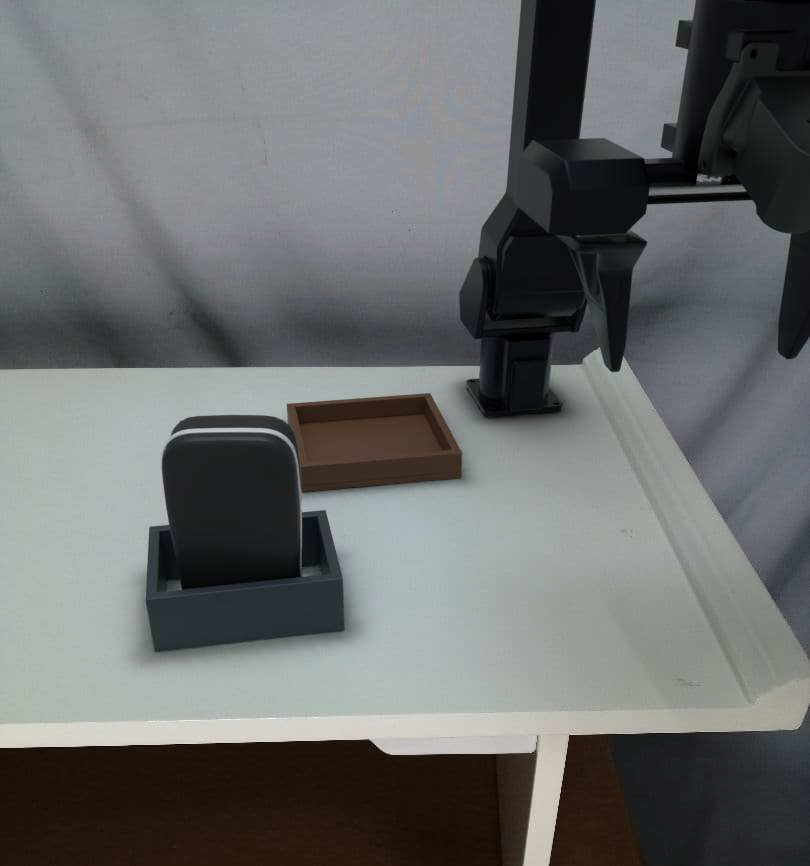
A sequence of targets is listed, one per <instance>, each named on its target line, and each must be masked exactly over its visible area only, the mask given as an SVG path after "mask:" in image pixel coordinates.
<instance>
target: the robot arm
mask: <svg viewBox="0 0 810 866" xmlns="http://www.w3.org/2000/svg"><path fill="white" fill-rule="evenodd" d="M596 4H597V0H520V12H519V25H518V36H517V38H518V39H517V48H516V49H517V51H516V63H515V64H516V65H515V76H514V87H513V89H514V90H513V100H512V101H513V102H512V113H511V125H510V126H511V127H510V138H509V151H508V152H509V153H508V165H507V175H506V176H507V177H506V188H505V193H504V194H503V196H502V197H501V199H500V200H499V202H498V203H497V205H496V206H495V208H494V209H493V211H492V212H490V215H489V216H488V217H487V219H486V220H485V222H484V223H483V224H482V226H481V229H480V237H479V245H478V252H477V253H478V254H477V257H474V259H473V260H472V263H471V265H470V267H469V269H468V272H467V274H466V275H465V278H464V281H463V283H462V285H461V288H460V290H459V293H458V299H459V301H458V302H459V303H458V304H459V320H460V321H461V323H462V324H463V326H464V327H465V328H466V330H467V331H468V332H469V333H468V334H470V335H471V337H472V338H473V339H474V340H480V355H479V356H480V357H479V373H478V378H468V379H466V381H465V387H466V388H467V390H468V392H469V393H470V395H471V396H472V398H473V400H474V401H475V403H476V405H477V407H478V408H479V410H480V411H481V413H482V415H484V416H485V417H499V416H513V415H525V414H539V413H550V412H551V413H552V412H560V411H562V410H563V405H564V404H563V402H562V401H561V400H560V398H558V396H557V395H556V393H555V392H554V391H553V389H551V387H550V382H551V371H552V361H553V353H554V343H555V342H554V341H555V334H560V333H571V334H577V333H579V332H580V329H581V325H582V323H583V320H584V316H585V313H586V310H587V306H588V309H589V313H590V318H591V320H592V324H593V327H594V331H595V334H596V339H597V342H598V346H599V351H600V354H601V357H602V360H603V365H604V366H605V367H606V368H607V369H608V370H609V372H610V373H619V372H620V371H621V368H622V365H623V360H624V355H625V351H626V347H627V337H628V326H629V317H630V316H629V315H630V303H631V293H632V284H633V283H632V282H633V273H634V269H635V266H636V264H637V263H638V261H639V259H640V258H641V256H642V254H643V252H644V251H645V249H646V247H647V245H648V241H647V240H646V239H644V238H643V237H641V236H640V235H639V234H637V233H636V232H634V231H633V230H632V228H633V227H634V226H635V225H636V224H637V223H638V222H639V221H640V220H642V218H643V217H644V216H645V215H646V214H647V208H648V206H649V205H671V204H674V205H675V204H694V203H695V204H697V203H718V202H719V203H720V202H742V201H752V202H753V204H754V205H755V212H756V215H757V217H758V218H759V219H760V221H761V222H762V223H763V224H764V225H765V226H767V227H768V228H769V229H771V230H773V231H776V232H779V233H782V234H788V235H789V234H790V239H789V247H788V253H787V261H786V266H785V267H786V268H785V273H784V274H785V275H784V279H783V280H784V281H783V287H782V295H781V302H780V309H779V315H778V326H777V327H778V328H777V354H779V355H780V356H781V357H783V358H784V359H785V360H794V359H796V358H797V357H798V355H799V354H800V352H801V351H802V349H804V347H805V345H806V344H807V342H808V341H809V339H810V0H695V2H694V10H693V16H692V19H679V20H678V23H677V24H678V25H677V31H676V38H675V45H674V46H675V47H676V48H680V49H685V50H687V55H686V62H685V68H684V74H683V81H682V87H681V94H680V101H679V105H678V107H679V108H678V115H677V119H676V120H677V121H676V122H668V123H667V122H666V123H665V122H664V123H663V127H662V133H661V134H662V135H661V141H660V148H661V149H664V150H665V151H668V152H670V153H671V157H657V158H656V157H655V158H654V157H653V158H644V157H642V156H641V155H638V154H637V153H635V152H633V151H631V150H629V149H627V148H625V147H623V146H621V145H619V144H617V143H615V142H613V141H611V140H609V139H608V138H605V137H596V138H595V137H594V138H593V137H592V138H581V130H582V123H583V122H582V121H583V114H584V105H585V97H586V88H587V82H588V81H587V80H588V72H589V65H590V64H589V63H590V55H591V46H592V39H593V29H594V21H595V15H596V14H595V13H596ZM698 177H700V178H703V180H702V181H700V180H698ZM711 178H712V179H711ZM719 178H720V179H719ZM706 179H707V180H706ZM710 179H711V180H710ZM717 179H719V180H717Z"/></svg>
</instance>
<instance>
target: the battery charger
mask: <svg viewBox="0 0 810 866" xmlns="http://www.w3.org/2000/svg"><path fill="white" fill-rule="evenodd" d="M160 467H161V477H162V488H163V494H164V499H165V500H164V501H165V509H166V514H167V521H168V525H169V526H170V531H171V536H172V541H173V546H174V551H175V555H176V560H177V564H178V569H179V574H180V579H179V580H180V588H181V590H183V589H193V588H202V587H212V586H221V585H231V584H240V583H250V582H259V581H268V580H278V579H287V578H297V577H304V575H303V566H302V512H303V507H302V501H303V500H302V489H301V479H300V466H299V456H298V447H297V442H296V437H295V434H294V432H293V430H292V429H291V427H290V426H289V425H288V422H286V421H285V420H284V419H281V418H279V417H276V416H274V415H273V416H272V415H263V414H215V415H213V414H212V415H196V416H188V417H185V418H184V419H182V420H180V421H178V423H177V424H176V425H175V426H174V427H173V429H172V430H171V433H170V436H169V437H168V438H167V440H166V441H165V443H164V445H163V448H162V451H161V457H160Z"/></svg>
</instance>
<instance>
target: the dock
mask: <svg viewBox="0 0 810 866" xmlns="http://www.w3.org/2000/svg"><path fill="white" fill-rule="evenodd" d="M147 541H148V544H147V562H146V563H147V565H146V584H145V605H146V611H147V617H148V623H149V628H150V635H151V639H152V645H153V651H154V653H158V652H168V651H176V650H177V651H178V650H185V649H193V648H201V647H210V646H211V647H212V646H221V645H227V644H237V643H244V642H252V641H253V642H255V641H263V640H270V639H279V638H287V637H297V636H304V635H314V634H321V633H322V634H323V633H332V632H339V631H345V607H344V606H345V603H344V601H345V600H344V578H343V574H342V571H341V566H340V562H339V558H338V554H337V551H336V546H335V541H334V537H333V534H332V530H331V526H330V522H329V518H328V514H327V510H326V509H322V510H310V511H302V567H307V566H316V565H319V569H320V574H315V575H307V576H303V577H297V578H287V579H278V580H268V581H259V582H250V583H240V584H231V585H221V586H212V587H202V588H193V589H183V590H182V589H174V590H168V581H171V580H172V581H173V580H180V574H179V569H178V564H177V560H176V555H175V551H174V546H173V541H172V536H171V531H170V526H169V524H163V525H162V524H161V525H152V526H149V527H148V540H147Z"/></svg>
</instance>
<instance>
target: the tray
mask: <svg viewBox="0 0 810 866" xmlns="http://www.w3.org/2000/svg"><path fill="white" fill-rule="evenodd" d="M286 416H287V417H286V418H287V424H288V425H289V426H290V427H291V429H292V430H293V432H294V434H295V437H296V442H297V447H298V456H299V466H300V479H301V493H307V492H319V491H329V490H330V491H331V490H340V489H350V488H351V489H353V488H364V487H373V486H383V485H386V486H387V485H396V484H405V483H416V482H417V483H418V482H428V481H430V482H431V481H440V480H450V479H461V478H462V466H463V465H462V464H463V451H462V450H461V448H460V447H459V445H458V443H457V441H456V439H455V437H454V435H453V433H452V431H451V430H450V427H449V426H448V424H447V421H446V420H445V418H444V417H443V414H442V412H441V411H440V409H439V407H438V405H437V403H436V401H435V399H434V398H433V396H432V394H431V393H430V392H425V393H412V394H401V395H400V394H397V395H386V396H373V397H371V396H370V397H359V398H358V397H357V398H346V399H345V398H344V399H333V400H330V399H329V400H318V401H317V400H316V401H306V402H305V401H304V402H292V403H291V402H290V403H286Z"/></svg>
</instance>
